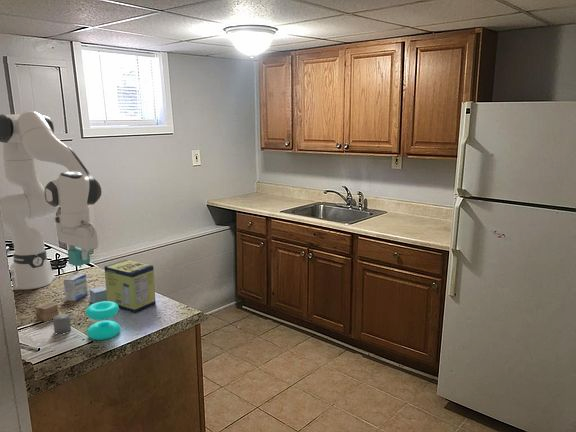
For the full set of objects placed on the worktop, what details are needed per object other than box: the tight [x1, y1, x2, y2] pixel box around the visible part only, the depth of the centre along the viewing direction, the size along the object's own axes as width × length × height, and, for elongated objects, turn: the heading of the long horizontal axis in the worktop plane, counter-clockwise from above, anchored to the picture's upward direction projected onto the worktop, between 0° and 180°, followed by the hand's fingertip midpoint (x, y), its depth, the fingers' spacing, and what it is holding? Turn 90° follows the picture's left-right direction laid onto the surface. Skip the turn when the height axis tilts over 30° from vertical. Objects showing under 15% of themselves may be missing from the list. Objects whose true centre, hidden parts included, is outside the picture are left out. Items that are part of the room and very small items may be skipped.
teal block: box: [67, 247, 91, 267], centre depth 160 cm, size 5×5×5 cm
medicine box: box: [63, 273, 89, 302], centre depth 181 cm, size 8×4×9 cm, turn 168°
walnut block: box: [34, 301, 59, 323], centre depth 162 cm, size 5×5×5 cm
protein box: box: [104, 259, 157, 314], centre depth 173 cm, size 10×16×16 cm
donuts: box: [85, 301, 121, 341], centre depth 149 cm, size 10×10×10 cm
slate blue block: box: [89, 286, 107, 304], centre depth 177 cm, size 5×5×5 cm
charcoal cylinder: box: [52, 313, 72, 335], centre depth 152 cm, size 5×5×5 cm
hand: (79, 258), depth 160 cm, fingers closed on teal block, 5 cm apart
